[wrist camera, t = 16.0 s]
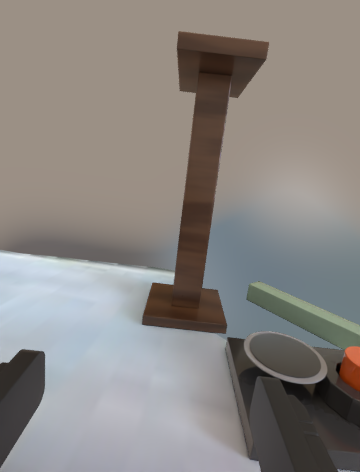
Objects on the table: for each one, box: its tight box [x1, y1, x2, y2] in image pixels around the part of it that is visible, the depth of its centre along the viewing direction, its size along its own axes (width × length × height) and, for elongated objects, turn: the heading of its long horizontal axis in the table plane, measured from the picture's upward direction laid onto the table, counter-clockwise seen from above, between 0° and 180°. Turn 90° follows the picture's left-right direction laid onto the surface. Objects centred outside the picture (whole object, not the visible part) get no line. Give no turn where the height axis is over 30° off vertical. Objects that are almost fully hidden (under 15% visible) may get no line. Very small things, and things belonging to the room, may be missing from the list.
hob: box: [225, 337, 360, 471], centre depth 25 cm, size 14×12×4 cm
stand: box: [142, 31, 269, 334], centre depth 35 cm, size 14×10×30 cm
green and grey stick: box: [247, 281, 360, 350], centre depth 36 cm, size 22×3×3 cm
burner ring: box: [244, 331, 327, 384], centre depth 25 cm, size 7×7×1 cm
